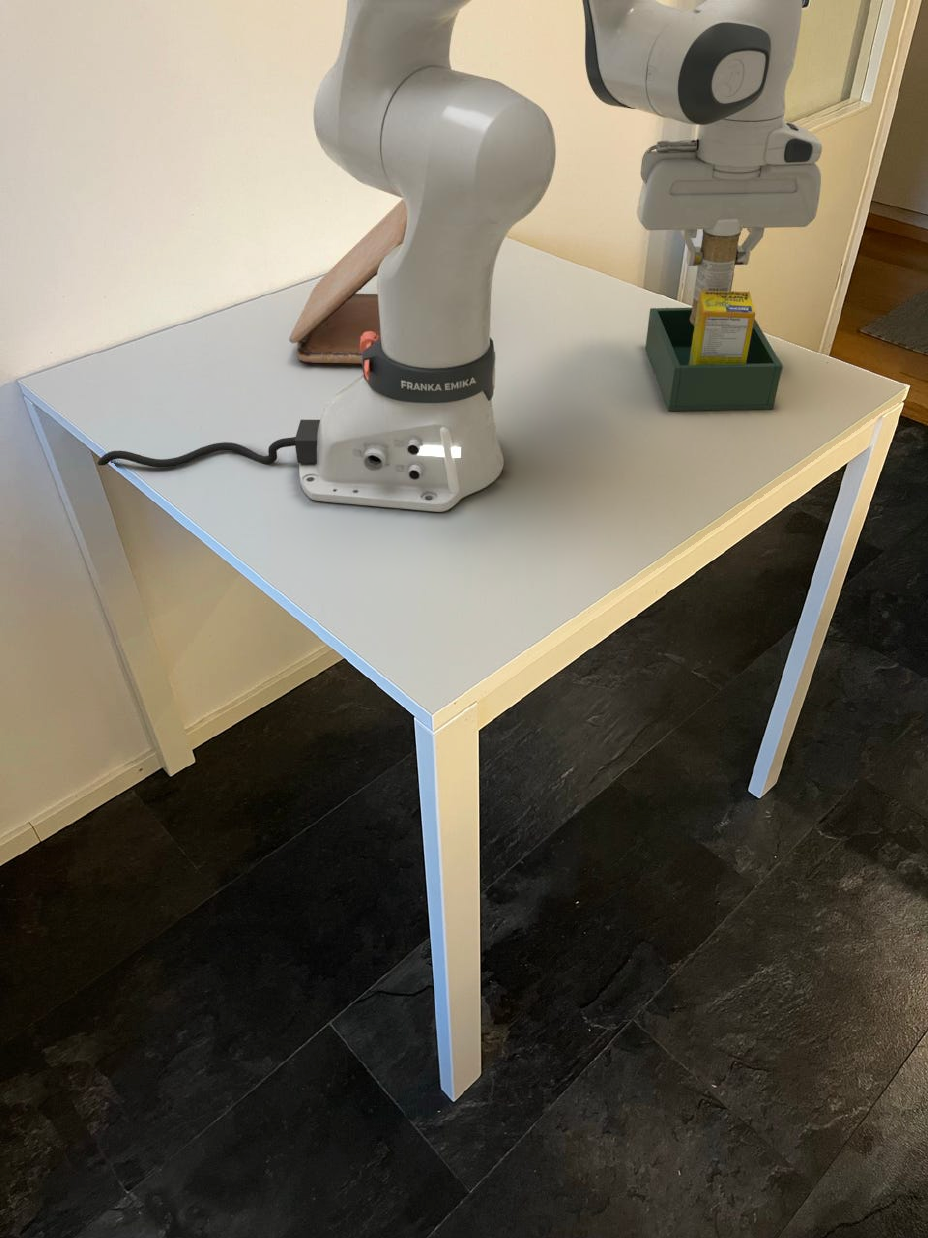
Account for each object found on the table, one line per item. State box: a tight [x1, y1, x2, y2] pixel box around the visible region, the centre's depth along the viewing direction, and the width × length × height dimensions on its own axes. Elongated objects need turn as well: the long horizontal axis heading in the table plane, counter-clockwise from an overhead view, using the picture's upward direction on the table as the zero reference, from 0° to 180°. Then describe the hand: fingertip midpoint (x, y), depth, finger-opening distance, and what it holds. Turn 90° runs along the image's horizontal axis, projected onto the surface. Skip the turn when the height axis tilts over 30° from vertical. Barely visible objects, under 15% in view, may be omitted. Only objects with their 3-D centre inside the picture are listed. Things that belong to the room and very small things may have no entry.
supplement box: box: [689, 290, 756, 365], centre depth 114 cm, size 6×6×11 cm
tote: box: [644, 307, 784, 412], centre depth 119 cm, size 13×17×6 cm
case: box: [288, 198, 407, 364], centre depth 126 cm, size 20×21×16 cm
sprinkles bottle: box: [690, 219, 743, 326], centre depth 115 cm, size 5×5×14 cm
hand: (717, 263), depth 115 cm, fingers closed on sprinkles bottle, 4 cm apart
